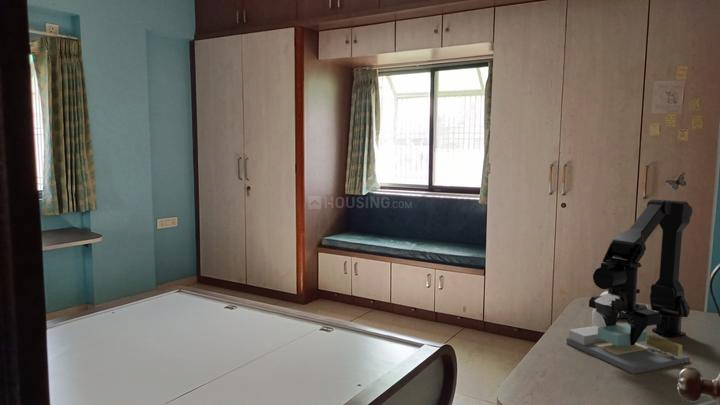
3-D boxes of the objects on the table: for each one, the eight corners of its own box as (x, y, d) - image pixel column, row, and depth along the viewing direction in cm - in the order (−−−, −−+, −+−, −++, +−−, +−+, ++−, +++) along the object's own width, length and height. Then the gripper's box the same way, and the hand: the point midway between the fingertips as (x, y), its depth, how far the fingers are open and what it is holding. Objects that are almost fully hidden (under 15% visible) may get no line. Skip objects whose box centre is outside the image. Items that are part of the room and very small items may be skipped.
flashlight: (598, 305, 164) (594, 298, 169) (596, 320, 166) (593, 313, 171) (650, 309, 161) (644, 302, 166) (648, 324, 162) (643, 317, 167)
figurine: (617, 334, 153) (619, 295, 152) (589, 329, 157) (591, 291, 156) (619, 327, 159) (621, 290, 158) (592, 323, 163) (594, 286, 162)
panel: (618, 334, 152) (618, 321, 152) (689, 362, 132) (690, 347, 131) (566, 343, 145) (567, 329, 144) (633, 373, 124) (634, 358, 124)
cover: (625, 333, 143) (625, 323, 143) (646, 341, 137) (646, 330, 137) (597, 337, 139) (597, 327, 139) (617, 346, 133) (618, 335, 133)
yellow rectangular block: (650, 347, 138) (651, 333, 138) (681, 359, 130) (682, 345, 129) (645, 348, 137) (646, 334, 137) (677, 360, 129) (678, 346, 129)
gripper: (575, 279, 142) (572, 333, 144) (633, 296, 125) (629, 357, 126) (604, 276, 146) (602, 328, 148) (664, 292, 129) (661, 351, 131)
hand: (621, 340), depth 138 cm, fingers closed on cover, 6 cm apart
